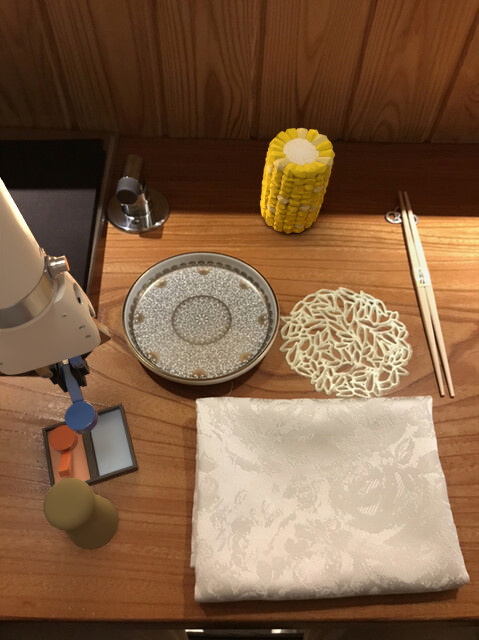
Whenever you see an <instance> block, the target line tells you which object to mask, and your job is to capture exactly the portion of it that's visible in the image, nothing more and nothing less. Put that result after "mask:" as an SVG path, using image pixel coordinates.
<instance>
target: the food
mask: <svg viewBox="0 0 479 640" xmlns="http://www.w3.org/2000/svg"><path fill="white" fill-rule="evenodd" d="M333 148H334V147H333V144H332V142H331V141H330V140H329V139H328V137H327V135H325V134H320V133H319V131H318V129H311V128H310V129H309V130H308V129H307V128H303V127H300V128H297V129H296V128H295V127H293V128H287V129H286V131H283V130H281V131H280V132H279V133H278V134H276V136H275V137H274V138H273V139H272V140H271V141H270V142H269V146H268V148H267V150H268V151H266V157H265V163H264V164H265V165H264V168H263V175H262V178H263V179H262V181H261V195H260V199H261V200H260V201H259V206H260V213H261V217H262V218H263V220H265V223H266V225H267V226H268V227H272V228H273V229H274V231H275V232H279V233H282V232H284V233H285V234H287V235H288V234H291V233H295V234H300V233H301V232H303V231H305V229H309V228H311V227H312V225H313V223H316V221H317V219H318V217H319V213H320V210H321V207H322V204H323V203H324V196H325V194H326V193H327V187H329V181H330V179H329V178H330V177H331V173H332V171H331V170H332V169H333V165H334V158H335V156H336V154H335V152H334V150H333Z"/></svg>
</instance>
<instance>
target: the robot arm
mask: <svg viewBox="0 0 479 640" xmlns="http://www.w3.org/2000/svg"><path fill="white" fill-rule="evenodd" d="M69 271H70V264H69V263H68V260H67V258H66V256H65V255H63V256H58V257H57V256H50V255H49V254H48V255H47V253H46V251H45V249H44V247H40V246H39V244H38V242H37V240H36V238H35V237H34V234H33V233H32V231H31V229H30V227H29V226H28V225H27V222H26V221H25V219H24V218H23V215H22V214H21V212H20V210H19V208H18V207H17V205H16V203H15V201H14V200H13V198H12V196H11V194H10V192H9V191H8V189H7V187H6V186H5V183H4V182H3V180H2V179H1V177H0V375H1V374H5V375H8V376H13V375H19V374H23V373H28V374H29V373H30V374H37V375H38V376H39V377H41V378H42V379H49V381H50V382H51V383H52V384H53V385H54V386H56V385H58V387H59V388H60V389H61V391H62V392H63V393H64V394H66V393H69V392H68V389H67V386H66V382H65V380H64V377H63V374H62V371H61V368H60V366H61V365H64V364H65V363H64V362H63V361H66V360H67V364H68V363H69V368H70V372H71V374H72V376H73V377H74V379H75V380H76V381H77V382H78V383H79V385H80V388H81V387H82V388H84V387H88V381H87V377H86V376H88V375H90V374H91V371H90V367H89V366H90V365H89V363H88V361H87V358H88V357H89V356H90V355H91V353H93V351H94V350H96V349H97V348H98V347H100V346H102V345H104V344H106V343H108V342H110V341H111V339H112V336H111V332H110V328H109V327H108V326H107V325H105V324H104V323H102V322H101V321H99V320H98V319H96V317H97V315H96V312H95V309H94V306H93V305H92V302H91V301H90V299H89V297H88V296H87V294H86V293H85V292H84V290H83V289H82V287H81V286H80V284H79V283H78V282H77V281H76V279H75V278H74V277H73V276H72V274H70V273H69Z"/></svg>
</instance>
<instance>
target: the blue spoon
mask: <svg viewBox="0 0 479 640" xmlns="http://www.w3.org/2000/svg"><path fill="white" fill-rule="evenodd" d="M60 368H61V371H62V374H63V377H64V380H65V382H66V386H67V389H68V392H67V393H68V395H69V397H70V400H71V405H70V406H69V407H68V408H66V411H65V414H64V421H65V423H66V425H67V426H68V427H69V428H70V429H71V430H72V431H73V432H74V433H77V434H85V433H88V432H90V431H91V430H92V429H93V428H94V427H95V426H96V424H97V421H98V414H97V412H96V411H97V410H96V409H95V407H94V406H93V405H92V404H91V403H90V402H88V401H85V397H84V394H83V391H82V388H81V387H80V385H79V383H78V382H77V381H76V380H75V379H74V377H73V376H72V374H71V372H70V368H69V363H68V362H67V363H64V365H61V366H60Z"/></svg>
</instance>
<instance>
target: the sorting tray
mask: <svg viewBox="0 0 479 640" xmlns="http://www.w3.org/2000/svg"><path fill="white" fill-rule="evenodd" d="M96 412H97V414H98V421H97V424H96V426H95V427H94V428H93V429H92V430H91V431H90V432H88V433H85V434H77V435H78V443H77V445H76V447H75V448H74V449H73V450H72V451H71V452H72V455H73V456H72V464H71V472H70V475H67V476H64V477H60V475H59V473H58V471H59V465H60V459H61V453H59V452H57V451H56V450H55V449H54V448H53V447H52V446H51V445H50V435H51V433H52V432H53V430H54V429H56V428H57V427H59V426H63V425H66V423H65V420H63V421H60V422H58V423H53V424H52V425H51V424H50V425H48V426H45V427H42V428H41V434H42V440H43V445H44V447H43V448H44V453H45V459H46V465H47V471H48V472H47V473H48V479H49V485H50V488H51V487H52V486H53V485H54V484H55V483H57V482H59V481H61V480H63V479H68V478H75V479H80V480H82V481H85V482H86V483H87V484H88V485H89V486H90V487H91V486H93V485H97V484H100V483H103V482H105V481H109V480H113V479H115V478H118V477H120V476H121V477H122V476H124V475H126V474H130V473H133V472H136V471H138V470H139V465H138V462H137V457H136V453H135V449H134V445H133V440H132V437H131V432H130V427H129V424H128V420H127V416H126V411H125V407H124V405H123V403H122V402H120V403H117V404H115V405H114V404H113V405H111V406H109V407H104V408H102V409H99V410H96ZM66 426H67V425H66Z"/></svg>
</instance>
